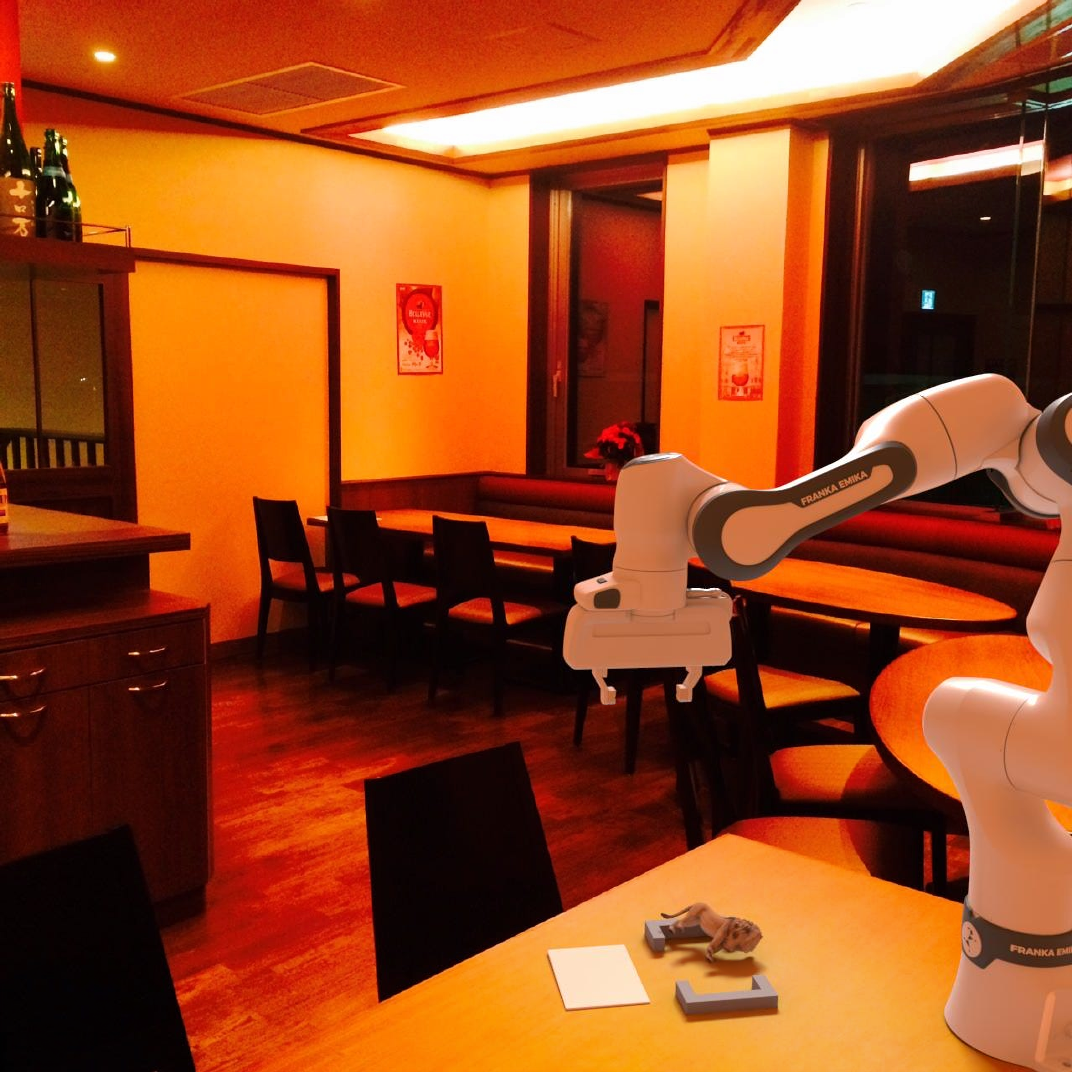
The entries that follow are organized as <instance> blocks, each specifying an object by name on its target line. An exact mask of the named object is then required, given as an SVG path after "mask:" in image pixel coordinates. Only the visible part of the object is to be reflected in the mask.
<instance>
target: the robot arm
mask: <svg viewBox="0 0 1072 1072" xmlns="http://www.w3.org/2000/svg"><path fill="white" fill-rule="evenodd" d="M1025 397H1026V396H1024V394H1023V393H1022V391H1021V389H1020V388H1019V387H1018V385H1016V384H1015V382H1013V381H1012V380H1010V379H1009V378H1007V377H1006V376H1004V375H1001V374H997V373H983V374H978V375H974V376H969V377H964V378H961V379H956V380H952V381H950V382H946V383H942V384H939V385H936V386H934V387H933V386H932V387H931V388H928V389H924V390H922V391H920V392H918V393H915V394H912V395H909V396H908V397H906V398H903V399H900V400H898V401H897V402H894V403H892V404H890V405H889V406H886V407H885V408H883V409H881V410H880V411H878V412H877V413H875V414H874V415H872V416H870V418H868V419H866V420H864V421H863V423H862V424H861V426H860V427H859V429H858V432H857V434H856V437H855V441H854V446H853V448H851V450H850V451H849V452H848V453H847V454H846V455H844V456H843V457H842V458H839V460H837V461H835V462H833V463H831V464H828V465H826V466H824V467H822V468H819V469H817V470H815V471H813V472H810V473H808V474H806V475H803V476H802V477H799V478H797V479H794V480H792V481H791V482H788V483H786V484H784V485H781V486H779V487H775V488H770V489H749V488H748V487H747V486H743V485H741V484H738V483H737V482H734V481H731V480H727V479H725V478H722V477H720V476H718V475H716V474H713V473H711V472H709V471H707V470H705V469H704V468H701V467H699V466H698V465H697V464H696V463H695V464H694V463H693V462H692V461H690V460H689V459H688V458H686V457H685V456H684V455H683V454H682V453H678V452H664V453H662V452H659V453H653V454H646V455H642V456H639V457H635V458H632V459H631V460H630V461H628V462H626V464H624V466H623V467H622V468H621V470H620V471H619V474H618V478H617V483H616V487H615V489H616V490H615V495H614V496H615V497H614V508H613V509H614V510H613V511H614V512H613V513H614V514H613V531H614V534H615V539H616V549H615V552H614V557H613V561H612V571H610V572H608V573H605V574H601V575H600V576H596V577H593V578H589V579H586V580H584V581H580V582H579V583H576V584H575V586H574V588H573V596H574V600H575V601H576V604H575V605H573V606H572V607H571V608H570V610H569V611H568V615H567V617H566V622H565V627H564V628H565V629H564V635H563V644H562V646H563V647H562V657H563V659H564V661H565V663H566V664H567V665H568V666H569V667H570V668H571V669H573V670H578V671H579V670H591V673H592V675H593V677H594V679H595V681H596V683H597V684H598V686H599V688H600V702H601V704H602V705H615V704H616V695H617V690H616V689H615V687H613V686H607V683H606V682H605V680H604V679H603V678H607V677H608V669H609V670H610V669H639V668H641V669H642V668H645V669H646V668H647V669H648V668H674V667H675V668H677V667H679V668H680V667H681V668H682V667H685V670H686V671H687V672H688V673H687V675H686V678H685V679H684V680H683V682H682V684H676V689H675V690H676V694H675V696H676V700H677V701H678V702H679V703H684V702H685V703H687V702H688V703H689V702H692V700H693V688H694V687H695V686H696V685H697V683H698V682H699V680H700V678H701V677H702V675H703V667H709V666H710V667H711V666H712V667H715V666H726V664H727V663H728V662H729V661H730V660H731V658H732V654H733V653H732V652H733V651H732V634H731V626H730V621H731V619H732V617H733V600H732V597H731V596H730V595H729V594H728V593H726V592H725V591H722V589H720V588H715V587H713V588H708V589H706V588H705V589H704V588H687V585H688V561H689V560H690V559H693V558H694V559H695V558H697V559H698V558H699V559H700V561H701V563H702V564H703V565H704V567H705V568H706V569H707V570H709V571H710V572H711V573H712V574H713V575H715V576H717V577H719V578H721V579H724V580H727V581H732V582H747V581H753V580H756V579H759V578H761V577H763V576H765V575H767V574H769V573H770V572H771V571H772V570H774V569H775V568H776V567H777V566H778V565H779V564H780V563H781V562H782V561H784V559H785V558H786V557H787V556H788V555H789V554H790V553H791V552H792V551H793V550H794V549H795V548H796V547H798V546H799V545H800V544H802V543H803V542H805V541H807V540H808V539H810V538H812V537H814V536H816V535H817V534H821V533H822V532H824V531H826V530H828V529H831V528H833V527H835V526H838V525H839V524H842V523H844V522H845V521H848V520H850V519H853V518H854V517H856V516H859V515H862V514H863V513H865V512H868V511H870V510H872V509H874V508H876V507H879V506H880V505H883V504H887V503H890V502H893V501H896V500H898V499H899V500H900V499H903V498H906V497H910V496H913V495H917V494H920V493H922V492H925V491H928V490H931V489H934V488H937V487H940V486H942V485H945V484H948V483H949V482H952V481H954V480H958V479H959V478H962V477H963V476H966V475H969V474H971V473H974V472H977V471H981V470H983V469H986V471H985V472H986V475H987V477H988V478H989V479H990V481H992V482H993V483H994V484H995V486H997V487H998V488H999V489H1000V490H1001V491H1002V493H1003V495H1004V497H1005V498H1006V500H1008V501H1009V503H1010V504H1011V505H1012V506H1013V507H1014V508H1015V509H1016V510H1018V511H1019V512H1020V513H1022V514H1024V515H1027V516H1028V517H1031V518H1035V519H1040V520H1052V519H1053V520H1054V519H1060V521H1061V522H1060V523H1061V530H1060V531H1061V533H1060V537H1059V543H1058V545H1057V547H1056V549H1055V551H1054V554H1053V556H1052V558H1051V560H1050V562H1049V565H1048V566H1047V569H1046V572H1045V574H1044V576H1043V579H1042V581H1041V583H1040V586H1039V588H1038V590H1037V593H1036V595H1035V597H1034V600H1033V603H1032V605H1031V607H1030V610H1029V612H1028V614H1027V616H1026V625H1025V626H1026V632H1027V636H1028V639H1029V642H1031V644H1032V646H1033V648H1035V650H1036V651H1037V652H1038V653H1039V655H1041V656H1042V657H1043V659H1045V660H1046V661H1047V662H1048V663H1049V664H1051V666H1052V675H1051V680H1050V681H1051V682H1050V685H1049V687H1048V689H1047V690H1046V691H1041V690H1037V689H1033V688H1029V687H1025V686H1021V685H1018V684H1016V683H1015V684H1014V683H1011V682H1007V681H1003V680H999V679H997V678H996V679H995V678H990V677H989V678H987V677H972V676H971V677H970V676H969V677H968V676H953V677H949V678H947V679H945V680H944V681H942V682H941V683H940V684H938V685H937V687H935V689H934V690H932V692H931V693H930V694H929V697H928V698H927V700H926V702H925V704H924V708H923V711H922V720H921V721H922V725H921V726H922V733H923V736H924V738H925V739H924V740H925V742H926V744H927V747H929V749H930V750H931V751H932V752H933V753H934V755H935V756H936V757H937V758H938V759H939V761H940V762H941V763H942V764H943V766H944V768H945V769H946V771H947V772H948V774H949V776H950V778H951V780H952V782H953V784H954V786H955V788H956V791H957V793H958V796H959V799H960V801H961V803H962V804H961V805H962V807H963V810H964V813H965V816H966V817H965V818H966V821H967V827H968V831H969V833H968V834H969V847H970V848H969V851H970V852H969V882H968V893H967V895H965V897H964V900H963V907H962V908H963V909H962V915H961V916H962V918H961V929H960V930H961V931H960V933H961V935H960V937H961V956H960V961H959V964H958V965H959V966H958V970H957V973H956V978H955V981H954V984H953V987H952V990H951V992H950V994H949V997H948V1000H947V1002H946V1003H945V1007H944V1009H943V1015H944V1018H945V1022H946V1024H947V1025H948V1027H949V1028H950V1029H951V1031H952V1032H953V1033H954V1034H955V1035H956V1036H957V1037H958V1038H959V1039H961V1040H962V1041H964V1043H966V1044H967V1045H969V1046H970V1047H972V1048H973V1049H976V1050H978V1051H980V1052H981V1053H983V1054H986V1055H987V1056H989V1057H992V1058H996V1059H998V1060H1000V1061H1003V1062H1006V1063H1010V1064H1015V1065H1018V1066H1022V1067H1024V1068H1025V1067H1026V1068H1028V1069H1032V1070H1033V1071H1036V1072H1072V835H1071V834H1070V833H1069V831H1067V830H1066V828H1065V827H1063V826H1062V825H1061V824H1060V822H1059V821H1058V820H1057V819H1056V817H1055V816H1054V815H1053V814H1052V812H1051V810H1050V809H1049V807H1048V804H1047V802H1046V800H1047V801H1049V802H1052V803H1055V804H1058V805H1061V806H1063V807H1066V808H1069V809H1072V392H1070V393H1068V394H1065V395H1063V396H1061V397H1059V398H1058V399H1055V401H1053V402H1051V404H1049V405H1048V406H1047V407H1046V408H1045V409H1044V410H1043V412H1042V410H1040V409H1037V408H1036V407H1033V406H1032V405H1031V404H1030V403H1028V402H1027V400H1026V398H1025ZM991 469H992V472H991Z"/></svg>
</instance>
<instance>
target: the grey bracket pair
mask: <svg viewBox="0 0 1072 1072" xmlns="http://www.w3.org/2000/svg"><path fill="white" fill-rule="evenodd" d="M721 916H722V917H725V918H727V916H726V915H721ZM683 918H684V917H682V918H670V919H666V918H665V919H656V920H655V919H654V920H645V921H644V937H645V938H646V941H647V942H648V944H649V946H650V948H651V950H652V952H653V953H656V952H665V951H666V950H665V949H666V940H671V939H683V938H684V939H685V938H697V937H710V936H709V935H708V934H706V933H705V932H704V931H703V930H702V928H701V926H700V924H699V925H696V926H693V927H684V932H681V931H680V930H679V929H678V927H676V928H675V930H676V933H675V934H671V933H670V931H669V927H670V925H671V924H673V923H674V922H676V921H677V920H681V919H683ZM751 978H752V979H751V989H749V990H748V989H747V990H737V991H725V992H724V991H723V992H711V993H700V994H699V993H698V994H696V993H695V991H694V989H693V987H692V986H691V983H690V981H689V980H677V981H675V992H674V993H675V995H676V998H677V999H678V1002H679V1004H680V1006H681V1007H682V1010H683V1012H684V1013H685V1015H686V1016H691V1015H703V1014H714V1013H715V1014H716V1013H723V1012H725V1013H726V1012H737V1011H747V1010H748V1011H750V1010H751V1011H752V1010H761V1009H772V1008H773V1009H774V1008H778V1007H779V994H778V993H777V991H776V990H775V988H774V987H773V985H772V984H771V982H770V981H769V979H768V978H767V977H766V975H765V974H754V975H752V976H751Z"/></svg>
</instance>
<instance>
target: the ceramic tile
mask: <svg viewBox="0 0 1072 1072" xmlns="http://www.w3.org/2000/svg"><path fill="white" fill-rule="evenodd" d="M547 956H548V959H549V962H550V965H551V968H552V971H553V975H554V978H555V981H556V984H557V986H558V990H559V992H560V995H561V996H560V997H561V999H562V1002H563V1006H564V1008H565V1011H575V1010H577V1011H578V1010H585V1009H596V1008H610V1007H622V1006H632V1005H633V1006H635V1005H645V1004H651V1001H650V999H649V996H648V994H647V992H646V990H645V987H644V985H643V984H642V980H641V978H640V976H639V975H638V972H637V969H636V967H635V965H634V963H633V960H632V958H631V957H630V954H629V952H628V949H627V948H626V946H625V944H611V945H595V946H584V947H583V946H581V947H570V948H569V947H568V948H557V949H555V948H553V949H547Z"/></svg>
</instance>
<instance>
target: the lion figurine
mask: <svg viewBox="0 0 1072 1072" xmlns="http://www.w3.org/2000/svg"><path fill="white" fill-rule="evenodd" d="M683 914H686V915H685V916H684V917H682V918H683V919H681V918H680V919H681V920H677V921H676V922H674V923H673V924H671V925H670V927H669V931H670V933H671V934H675V933H676V930H675V928H676V927H678V929H679V930H680V931H681V932H684V927H693V926H696V925H699V924H700V926H701V928H702V930H703V931H704V932H705V933H706V934H708V935H709V936H708V937H711V938H713V939H712V940H711V942H710V943H709V944H708V945H707V948H706V954H705V957H706V958H705V959H706V960H707V961H708V962H710V963H713V962H714V961H715V960H714V958H713V956H714V955H715V954H717V953H718V952H720V951H722V950H723V949H726V950H727V951H728V952H731V953H732V952H734V951H737V952H741V953H744V954H748V953H749V952H753V951H755V949H756V948H757V946H758V944H759V943H760V942H761V940H762V939H763V938H764V936H763V935H762V931H761V929H760V927H759V926H758V925H757V924H755V923H754V922H752V921H750V920H747V919H745V918H743V919H741V918H740V917H735V916H727V917H726V918H725V917H722V916H723V915H720V914H718V912H715V910H713V909H712V907H710V906H709V905H708V904H707V903H705V902H695V903H693V904H691V905H688V906H687V907H685V908H684V909H682V910H680V911H678V912H676V913H675V914H667V913H665V912H664V913H663V912H661V913H660V916H661V917H662V918H663V919H665V920H666V919H676V918H677V917H679V916H681V915H683Z"/></svg>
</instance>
